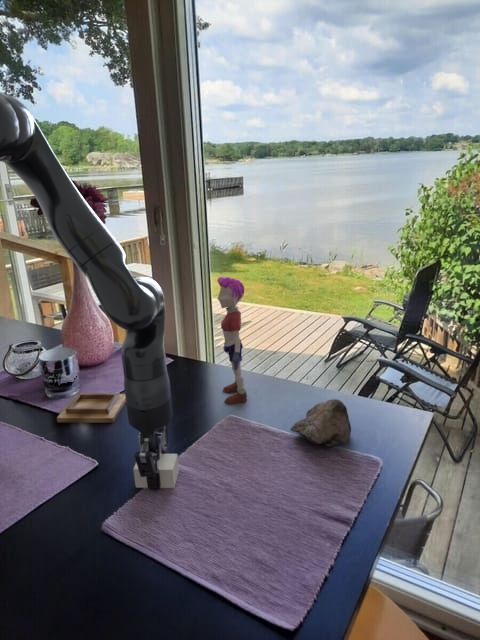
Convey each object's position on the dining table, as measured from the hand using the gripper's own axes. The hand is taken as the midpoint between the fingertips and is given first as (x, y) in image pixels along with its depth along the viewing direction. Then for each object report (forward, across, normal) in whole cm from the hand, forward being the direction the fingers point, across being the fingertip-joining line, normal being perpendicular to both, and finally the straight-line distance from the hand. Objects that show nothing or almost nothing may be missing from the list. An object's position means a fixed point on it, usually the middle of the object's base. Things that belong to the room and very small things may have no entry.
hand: (157, 478), depth 80 cm
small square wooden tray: (0, -24, -21) cm, 32 cm away
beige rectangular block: (0, 0, 0) cm, 0 cm away
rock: (+1, -14, +31) cm, 34 cm away
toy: (+1, -31, +12) cm, 33 cm away
